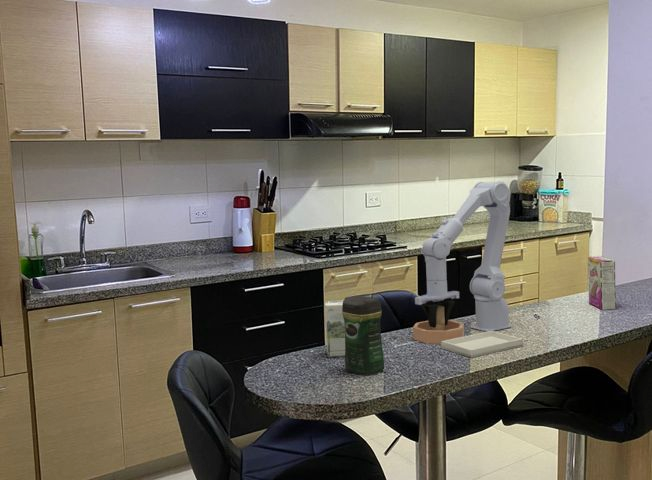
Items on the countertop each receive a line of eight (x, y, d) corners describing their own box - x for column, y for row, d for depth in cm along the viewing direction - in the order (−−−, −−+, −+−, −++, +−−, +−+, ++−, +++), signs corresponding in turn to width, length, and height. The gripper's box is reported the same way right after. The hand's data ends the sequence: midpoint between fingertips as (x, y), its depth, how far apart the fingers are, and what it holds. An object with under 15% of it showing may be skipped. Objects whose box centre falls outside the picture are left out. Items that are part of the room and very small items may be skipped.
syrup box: (347, 351, 178) (345, 299, 177) (349, 356, 172) (346, 303, 171) (327, 352, 178) (324, 300, 176) (327, 358, 172) (324, 304, 171)
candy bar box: (587, 304, 221) (586, 256, 220) (602, 303, 221) (601, 255, 220) (601, 310, 210) (600, 260, 209) (616, 309, 210) (616, 259, 208)
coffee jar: (390, 370, 158) (386, 296, 156) (366, 378, 153) (362, 301, 151) (363, 363, 165) (360, 291, 164) (340, 370, 160) (335, 296, 159)
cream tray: (491, 337, 184) (491, 330, 184) (523, 346, 173) (522, 338, 173) (441, 348, 175) (441, 341, 175) (471, 358, 165) (471, 350, 165)
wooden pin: (440, 335, 190) (438, 305, 189) (447, 337, 187) (446, 306, 186) (430, 337, 188) (428, 306, 187) (437, 339, 185) (436, 308, 184)
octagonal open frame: (442, 329, 197) (442, 317, 196) (473, 337, 184) (473, 325, 184) (405, 336, 190) (404, 325, 190) (434, 346, 178) (434, 333, 178)
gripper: (447, 275, 193) (449, 319, 194) (407, 280, 186) (409, 327, 187) (463, 277, 186) (464, 323, 188) (422, 283, 180) (424, 331, 181)
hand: (438, 325), depth 187 cm, fingers closed on wooden pin, 4 cm apart
